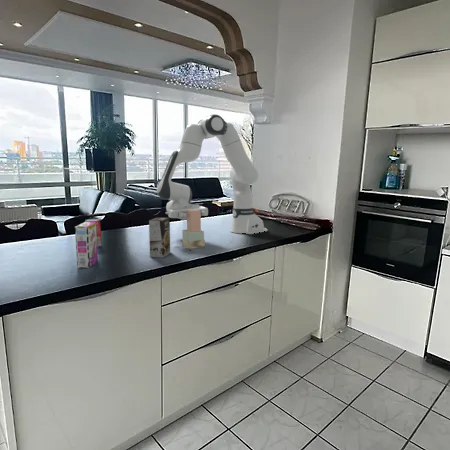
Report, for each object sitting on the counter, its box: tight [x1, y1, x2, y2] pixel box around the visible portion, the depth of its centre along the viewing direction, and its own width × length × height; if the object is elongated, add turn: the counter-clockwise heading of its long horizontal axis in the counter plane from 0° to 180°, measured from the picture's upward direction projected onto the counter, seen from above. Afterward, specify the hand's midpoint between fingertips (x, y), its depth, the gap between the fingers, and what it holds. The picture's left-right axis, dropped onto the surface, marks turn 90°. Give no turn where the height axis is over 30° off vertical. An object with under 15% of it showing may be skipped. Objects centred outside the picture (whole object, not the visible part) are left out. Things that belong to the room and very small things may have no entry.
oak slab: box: [182, 238, 206, 250], centre depth 164 cm, size 8×8×4 cm
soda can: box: [84, 218, 103, 248], centre depth 160 cm, size 7×7×13 cm
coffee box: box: [148, 217, 171, 259], centre depth 147 cm, size 9×6×16 cm
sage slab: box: [182, 229, 205, 241], centre depth 163 cm, size 8×8×4 cm
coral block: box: [186, 209, 202, 232], centre depth 162 cm, size 5×5×10 cm
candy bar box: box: [74, 221, 99, 269], centre depth 132 cm, size 11×5×16 cm, turn 5°
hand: (194, 214), depth 161 cm, fingers open, 8 cm apart
